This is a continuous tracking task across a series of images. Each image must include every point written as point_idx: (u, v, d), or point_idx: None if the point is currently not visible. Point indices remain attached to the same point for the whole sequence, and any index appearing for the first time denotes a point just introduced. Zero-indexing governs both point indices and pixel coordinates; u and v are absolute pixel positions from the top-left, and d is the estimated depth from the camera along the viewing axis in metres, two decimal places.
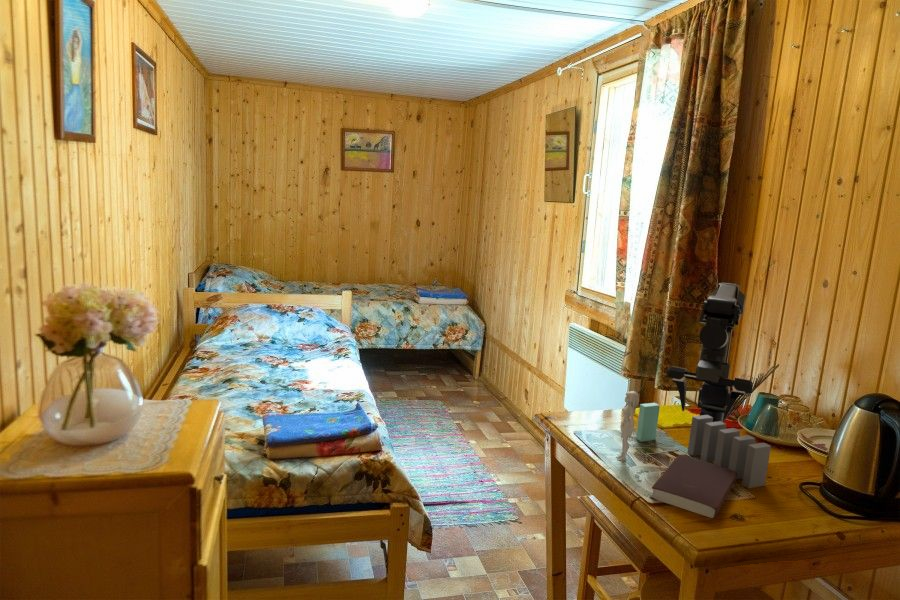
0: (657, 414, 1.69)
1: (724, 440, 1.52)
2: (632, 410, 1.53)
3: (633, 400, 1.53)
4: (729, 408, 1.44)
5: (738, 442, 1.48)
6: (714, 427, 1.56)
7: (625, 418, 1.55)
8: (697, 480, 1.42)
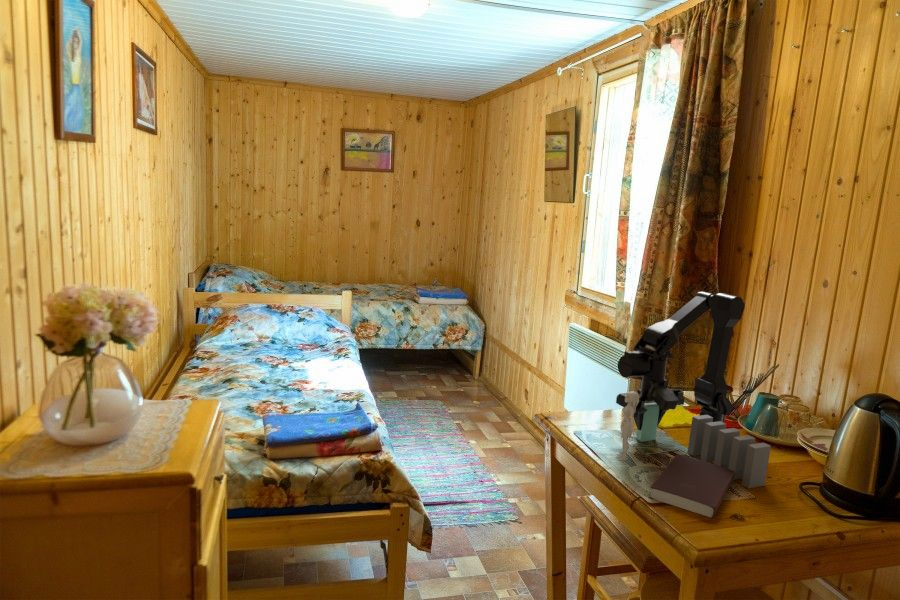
0: (657, 414, 1.69)
1: (724, 440, 1.52)
2: (632, 410, 1.53)
3: (633, 400, 1.53)
4: (660, 419, 1.70)
5: (738, 442, 1.48)
6: (714, 427, 1.56)
7: (625, 418, 1.55)
8: (695, 480, 1.42)
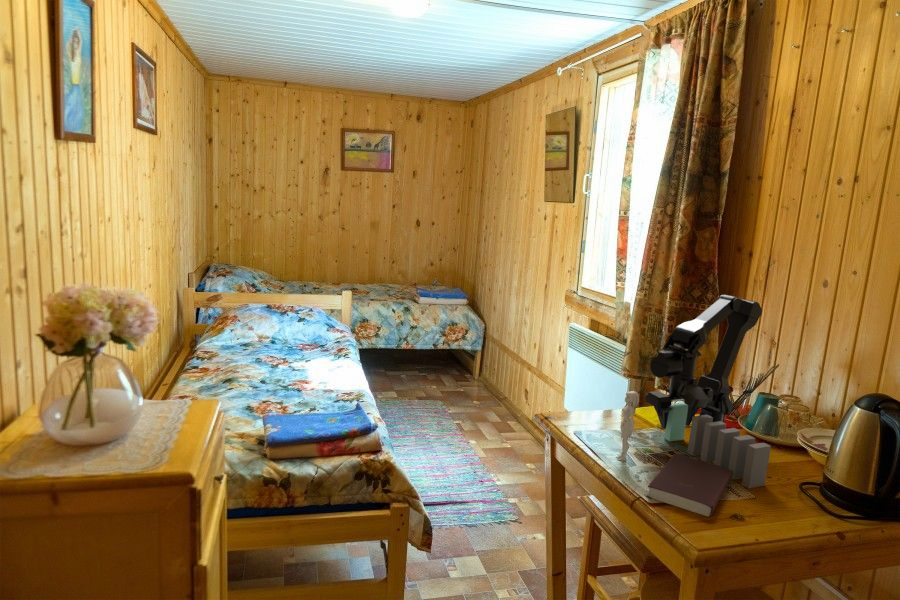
0: (685, 414, 1.70)
1: (724, 440, 1.52)
2: (632, 410, 1.53)
3: (633, 400, 1.53)
4: None
5: (738, 442, 1.48)
6: (714, 427, 1.56)
7: (625, 418, 1.55)
8: (693, 479, 1.42)
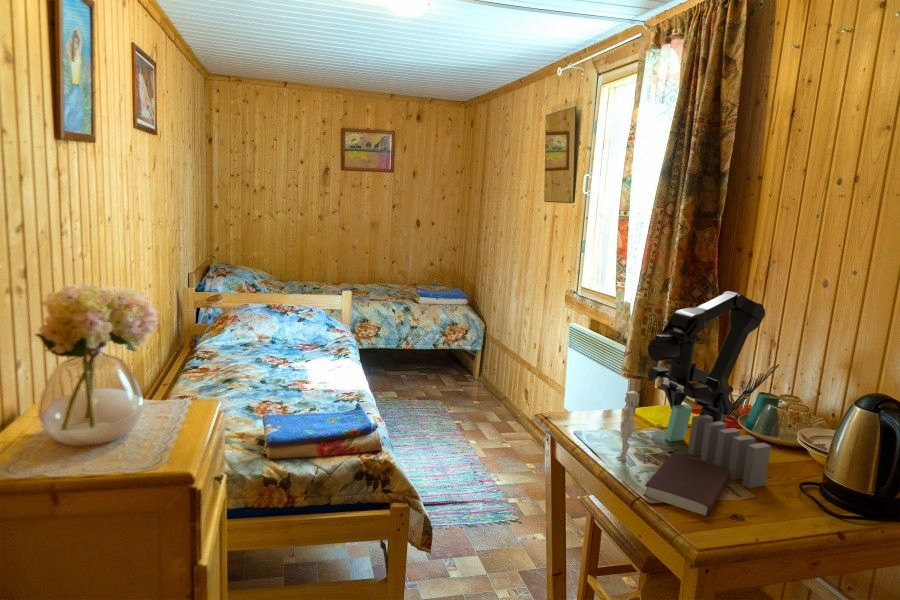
0: (689, 416, 1.69)
1: (724, 440, 1.52)
2: (632, 410, 1.53)
3: (633, 400, 1.53)
4: None
5: (738, 442, 1.48)
6: (714, 427, 1.56)
7: (625, 418, 1.55)
8: (690, 478, 1.42)
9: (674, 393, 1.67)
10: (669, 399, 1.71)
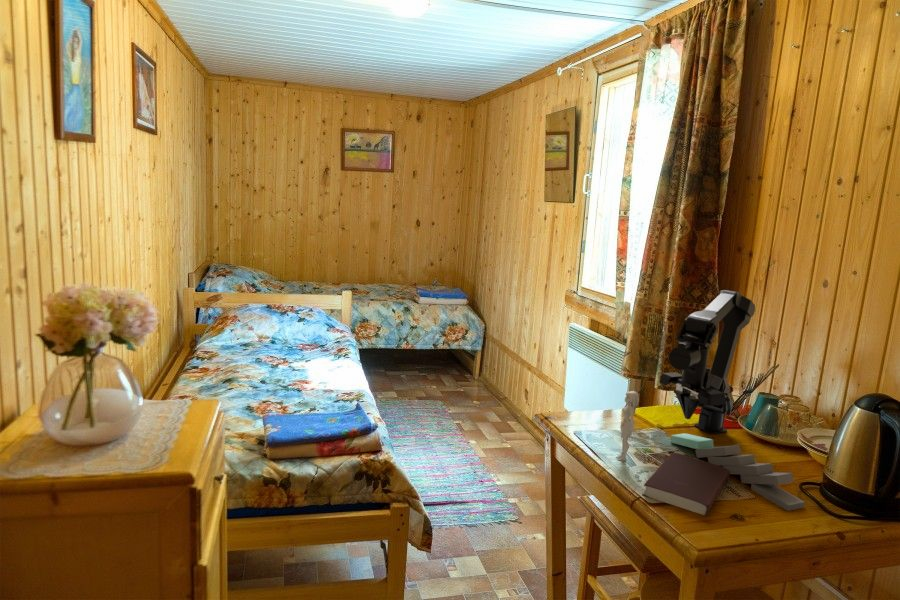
0: None
1: (751, 474, 1.45)
2: (632, 410, 1.53)
3: (633, 400, 1.53)
4: None
5: (776, 483, 1.39)
6: (741, 465, 1.49)
7: (625, 418, 1.55)
8: (689, 478, 1.43)
9: (688, 400, 1.63)
10: (682, 405, 1.66)
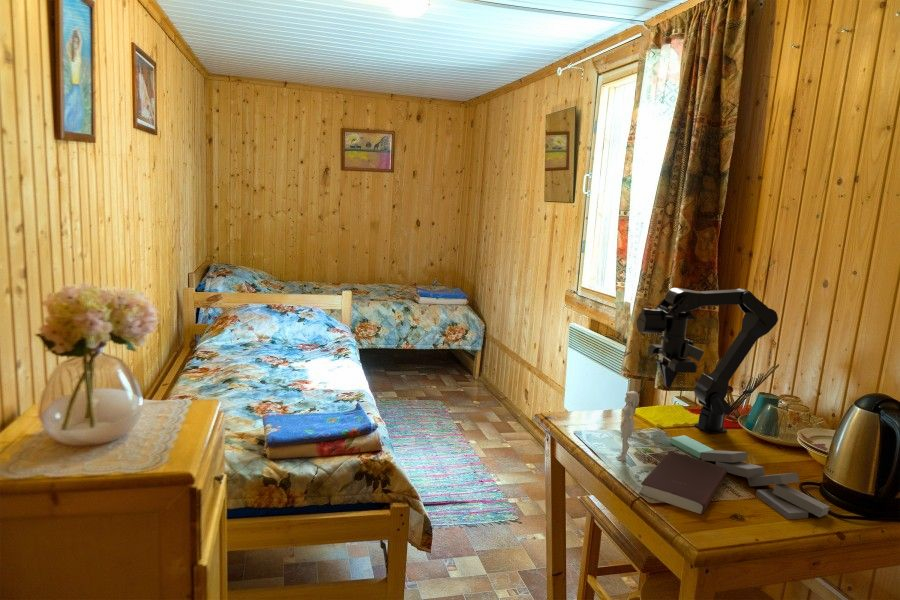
0: None
1: None
2: (632, 410, 1.53)
3: (633, 400, 1.53)
4: None
5: (817, 514, 1.32)
6: None
7: (625, 418, 1.55)
8: (686, 477, 1.43)
9: (664, 367, 1.73)
10: (662, 374, 1.76)
